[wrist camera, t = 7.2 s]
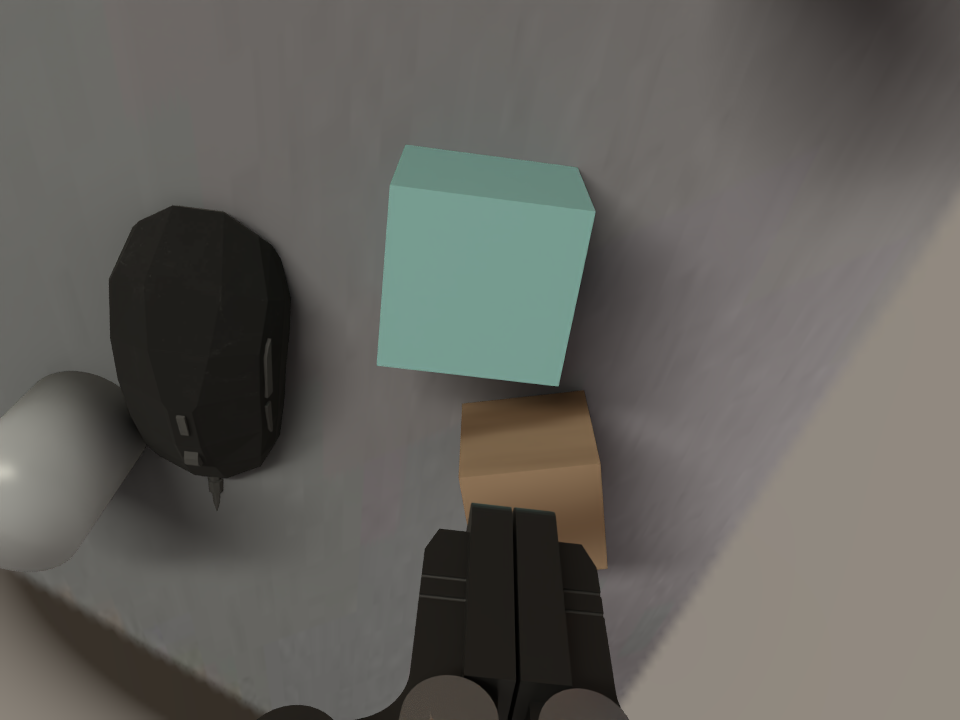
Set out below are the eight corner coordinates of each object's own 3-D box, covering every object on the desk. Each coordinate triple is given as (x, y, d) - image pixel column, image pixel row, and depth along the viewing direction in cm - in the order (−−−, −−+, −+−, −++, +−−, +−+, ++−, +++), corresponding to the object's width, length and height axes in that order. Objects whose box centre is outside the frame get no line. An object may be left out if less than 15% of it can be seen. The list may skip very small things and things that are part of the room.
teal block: (406, 143, 26) (390, 184, 22) (577, 166, 26) (595, 211, 22) (393, 301, 29) (376, 365, 24) (547, 319, 29) (558, 386, 25)
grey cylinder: (15, 363, 30) (-83, 452, 25) (143, 379, 30) (72, 469, 25) (34, 463, 32) (-52, 564, 27) (152, 476, 33) (89, 578, 28)
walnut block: (462, 402, 31) (458, 478, 27) (583, 389, 31) (600, 463, 26) (478, 497, 33) (477, 580, 29) (591, 485, 33) (607, 568, 29)
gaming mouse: (150, 506, 34) (112, 571, 31) (118, 188, 27) (64, 225, 24) (289, 521, 35) (268, 585, 31) (294, 211, 27) (267, 250, 24)
